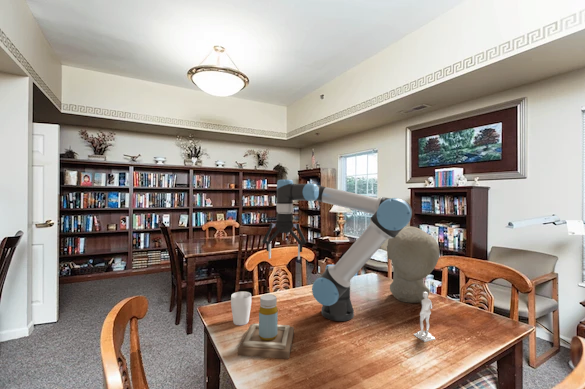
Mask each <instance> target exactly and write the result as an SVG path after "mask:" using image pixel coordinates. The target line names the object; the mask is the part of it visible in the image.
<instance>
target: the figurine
mask: <svg viewBox="0 0 585 389" xmlns="http://www.w3.org/2000/svg"><path fill="white" fill-rule="evenodd" d="M423 297H424V299H423V300H422V302H420V304H421V310H420V312H419V316H420V317H419V326H420V327H419V328H420V330H418V331H417V332H416V333H413V336H415V337H416V338H417V339H419V340H420V341H422V342H424V343H427V342H430V341H433V340H436V338H435V336H434V335H432V333H430V332H429V330H430V321H429V320H430V317H431V316H430V315H431V314H432V311H431V310H432V309H433V304H432V300H431V299H430V298H429V295H428V293H427V292H423ZM427 297H428V298H427ZM424 320H425V323H426V325H425V326H426V327H425V328H426V329H425V330H424Z"/></svg>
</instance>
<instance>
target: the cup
mask: <svg viewBox="0 0 585 389" xmlns="http://www.w3.org/2000/svg"><path fill="white" fill-rule="evenodd" d="M230 306H231V314H232V322H233V324H234V325H236V326H245V325H247V324H248V323H249V320H250V315H251V309H252V293H251V292H249V291H237V292H233V293H232V294H231V297H230Z"/></svg>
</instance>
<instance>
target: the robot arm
mask: <svg viewBox="0 0 585 389" xmlns="http://www.w3.org/2000/svg"><path fill="white" fill-rule="evenodd" d="M293 201H307V202H310V201H315V202H320V203H324V204H325V203H326V204H329V205H333V206H337V207H341V208H345V209H349V210H353V211H356V212H357V211H358V212H361V213H365V214H370V215H372V216H371V217H370V218H369V220H370V222H369V223H370V224H369V225H368V226H367V227H366V229H365V230H364V231H363V232H362V233H361V234H360V236H359V237H358V238H357V239H356V240H355V241H354V242H353V243H352V245H351V246H350V247H349V249H348V250H347V251H346V252H345V253H344V254H343V255H342V256H341V258H339V260H338V261H337V262H336V263H335V264H327V265H326V266H325V269H324V271H323V273H322V274H321V275H320V276H319V277H317V278H316V279H315V280H314V282H313V283H312V286H311V290H312V291H311V292H312V295H313V298H314V300H316V301H317V303H318V304H320V305H321V312H320V313H321V316H322V317H324V318H325V319H327V320H330V321H334V322H335V321H336V322H346V321H350V320H352V319H353V318H354V316H355V312H354V305H353V303H352V299H351V280H352V279H353V278H354V276H356V274H358V273H359V271H360V270H361V269H362V268H363V267H364V266H365V265H366V264H367V262H368V261H369V260H370V259H371V258H372V257H373V255H374V254H375V253H376V252H377V251H378V250H379V249H380V248H381V247H382V246H383V245H384V244H385V243H386V241H387V240H389V238H394V237H395V236H396V235H397V234H398V233H399V232H400V231H401V230H402V229H403V228H405V227H407V225H408V224H409V223H410V222H411V219H412V217H413V209H412V206H411V204H410V203H409V202H408V201H407V200H405V199H403V198H399V197H392V198H391V197H385V196H381V197H379V198H378V197H374V196H368V195H364V194H359V193H355V192H351V191H346V190H341V189H337V188H332V187H327V186H323V185H320V184H316V183H294V181H293V179H278V180H277V182H276V222H275V223H273V222H270V223H269V227H268V229H267V232H266V234H265V235H264V238H263V240H262V243H263V244H266V246H265V247H266V248H265V250H266V252H268V260H270V259H272V243H271V242H272V241H273V240H274V239H275V237H276V236H277V235H278V234H279V233H281V234H290V235H291V236H292V237H293V239H294V240H295V241H296V242H297V243H298V244H297V260H298V261H300V260H301V253H302V252H303V246H304V245H306V244H307V240H306V238H305V236H304V234H303V231H302V230H301V227H300V223H294V221H293V219H294V218H293V217H294V214H293V212H294V208H293V207H294V202H293ZM274 228H276V231H275V232H274V233H273V234H272V235H271V236H270V234H271V232H272V230H273V229H274ZM293 228H295V229H296V230H297V233H298V235H299V237H300V238H301V239H300V238H299V237H298V235H297V234H296V233H295V231H294V230H293ZM269 236H270V237H269ZM268 238H269V239H268Z"/></svg>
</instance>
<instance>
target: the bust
mask: <svg viewBox="0 0 585 389" xmlns="http://www.w3.org/2000/svg"><path fill="white" fill-rule="evenodd" d="M387 240H388V241H387V245H386V252H387V254H386V255H387V259H388V260H390V261H391V264H392V268H393V275H392V276H393V279H392V282H391V283H390V285H389V291H390V293H391V294H392V296H393V297H394V298H395V299H396V300H398V301H400V302H402V303H407V304H418V303H421V302H422V300H423V299H424V297H423V292H427V293H428V297H427V298H428V299H429V296H430V292H431V291H430V289H429V288H428V287H427V285H426V284H425V283H424V279H425V278H427V277H428V276H429V275H430V274H431V273H432V272H433V271H434V269H435V268H436V266H437V264H438V261H439V258H440V246H439V243H438V242H437V240H436V239H435V237H433V236H432V235H431V234H429V233H428V232H426V231H424V230H423V229H421V228H418V227H416V226H411V225H410V226H405V227H404V228H403V229H402V230H401V231H400V232H399V233H398V234H397V235H396V236H395V237H394V238H389V239H387Z"/></svg>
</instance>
